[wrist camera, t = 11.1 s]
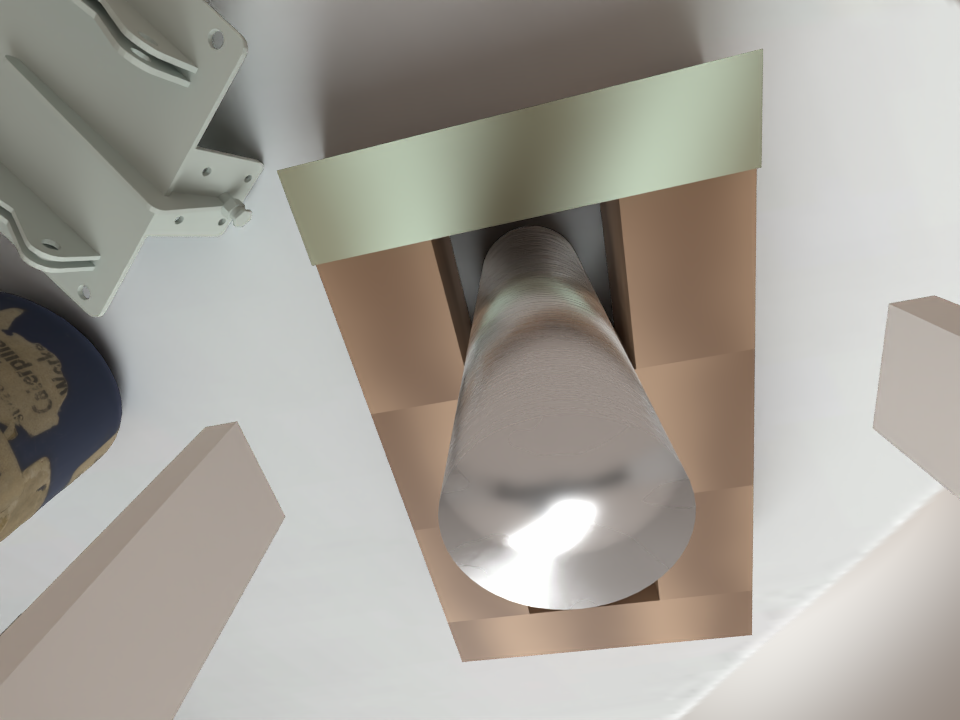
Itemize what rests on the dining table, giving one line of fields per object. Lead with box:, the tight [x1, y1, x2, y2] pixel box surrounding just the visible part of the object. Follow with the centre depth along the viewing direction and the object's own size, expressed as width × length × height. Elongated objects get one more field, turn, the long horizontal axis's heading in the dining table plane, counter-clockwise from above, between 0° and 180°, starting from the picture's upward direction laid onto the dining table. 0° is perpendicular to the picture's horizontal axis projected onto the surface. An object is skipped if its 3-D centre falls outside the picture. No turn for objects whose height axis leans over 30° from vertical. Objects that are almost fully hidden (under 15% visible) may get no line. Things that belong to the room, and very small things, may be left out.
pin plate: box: [277, 49, 763, 662], centre depth 21 cm, size 14×24×4 cm, turn 13°
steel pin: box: [438, 226, 696, 610], centre depth 14 cm, size 4×4×14 cm
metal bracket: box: [0, 0, 264, 317], centre depth 17 cm, size 14×6×15 cm
